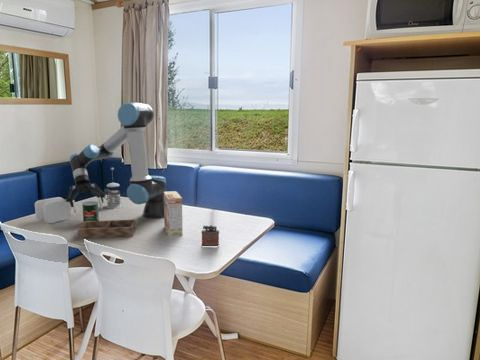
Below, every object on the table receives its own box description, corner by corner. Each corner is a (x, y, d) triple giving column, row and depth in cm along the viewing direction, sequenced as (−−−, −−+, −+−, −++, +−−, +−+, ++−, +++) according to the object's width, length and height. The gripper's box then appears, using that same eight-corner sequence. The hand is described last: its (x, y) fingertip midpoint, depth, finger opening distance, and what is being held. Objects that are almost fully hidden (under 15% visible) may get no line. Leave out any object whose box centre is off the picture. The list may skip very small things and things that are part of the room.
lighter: (219, 245, 166) (219, 224, 165) (218, 247, 163) (219, 227, 161) (201, 245, 166) (201, 224, 164) (201, 247, 163) (201, 226, 161)
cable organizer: (44, 225, 189) (42, 204, 187) (35, 221, 195) (33, 200, 193) (72, 219, 200) (70, 198, 198) (63, 215, 207) (61, 195, 204)
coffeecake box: (163, 227, 190) (163, 191, 186) (177, 226, 192) (176, 190, 188) (168, 236, 176) (167, 198, 172) (183, 235, 178) (182, 197, 174)
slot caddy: (135, 227, 188) (135, 219, 187) (132, 236, 175) (132, 227, 174) (85, 229, 183) (84, 221, 183) (78, 238, 171) (77, 229, 170)
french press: (125, 205, 229) (123, 167, 224) (110, 209, 219) (108, 169, 214) (115, 203, 234) (113, 165, 229) (100, 207, 224) (97, 168, 219)
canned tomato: (85, 225, 189) (84, 205, 187) (81, 221, 195) (80, 202, 193) (100, 223, 194) (99, 203, 192) (97, 219, 200) (95, 200, 198)
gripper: (103, 179, 213) (111, 210, 204) (56, 183, 199) (63, 216, 190) (105, 172, 207) (113, 203, 198) (57, 176, 193) (64, 209, 184)
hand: (89, 209), depth 194 cm, fingers open, 13 cm apart
